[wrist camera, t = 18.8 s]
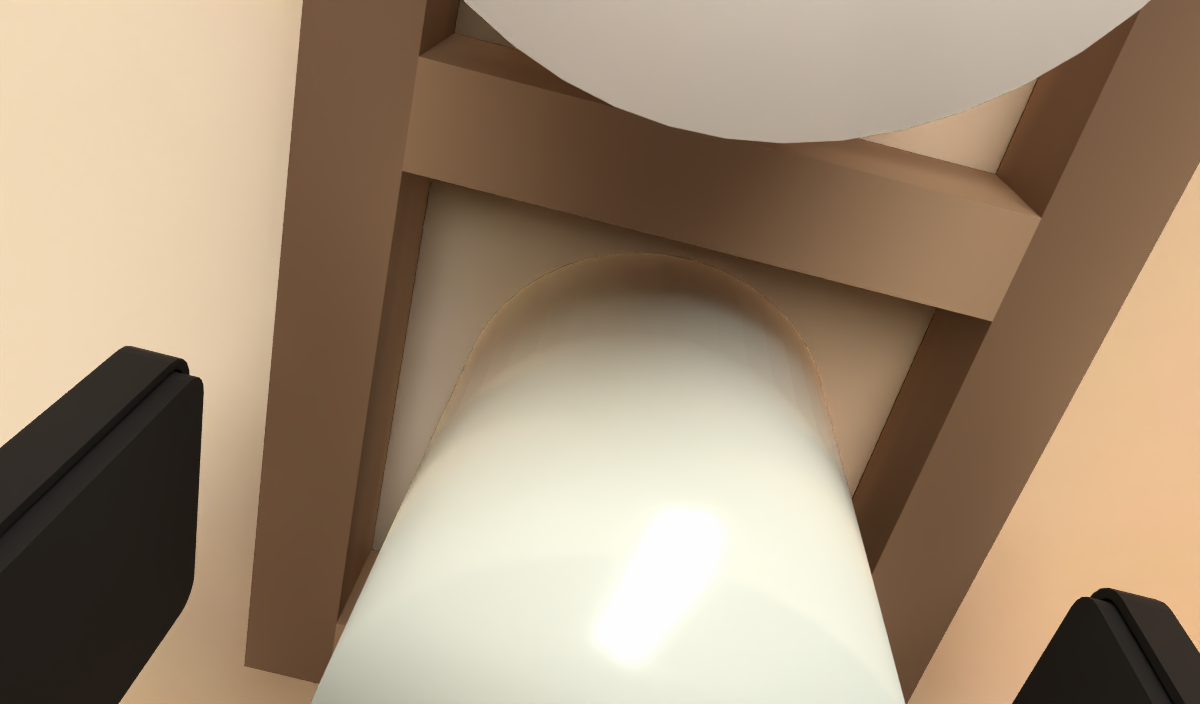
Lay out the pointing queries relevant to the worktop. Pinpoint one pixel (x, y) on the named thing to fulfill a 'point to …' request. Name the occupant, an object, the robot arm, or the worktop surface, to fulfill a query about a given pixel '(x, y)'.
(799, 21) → the cylinder
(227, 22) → the worktop surface
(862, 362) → the worktop surface
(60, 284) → the worktop surface
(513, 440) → the sugar pot
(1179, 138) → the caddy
